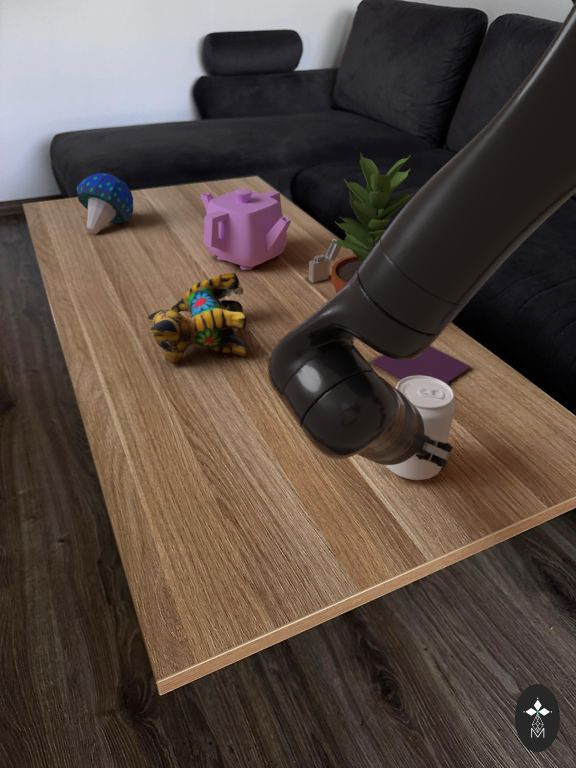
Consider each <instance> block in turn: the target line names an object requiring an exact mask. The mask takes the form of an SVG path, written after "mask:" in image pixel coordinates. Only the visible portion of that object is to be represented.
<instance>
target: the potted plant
mask: <svg viewBox="0 0 576 768" xmlns="http://www.w3.org/2000/svg"><path fill="white" fill-rule="evenodd" d="M359 154H360V159H359V164H360V167H361V170H362V173H363V175H364V178H365V181H366V187H365V188H364V187H363V186H362V185H360V184H359V183H357V182H353V181H351V182H350V181H347V180H346V179H343V181H344V182H345V184H346V186H347V187H348V189H349V190H348V192H349V204H350V207H351V209H352V210H353V212H354V214H355V216H356V217H357V219H358V221H359V222H360V223H359V222H358V221H356V220H354V219H353V218H350V217H344V218H343V217H341V216H339V218H340V219H341V220H343V221H344V222H342V223H339V222H336V221H335V220H334V222H335V224H336V225H337V226H338V227H339V228H341V229H342V230H344V232H345V235H346V236H345V237H344V239H343V240H342V239H337V240H338V241H336V242H333V243H335V244H337V245H339V246H341V248H345V249H349V250H351V251H352V253H353V254H354V255H349V256H347V257H343V258H341V259H339V260H337V261H336V262H334V264H333V265H332V267H331V277H330V279H331V281H330V282H331V285H332V286H333V288H334V291H335V294H336V293H338V292H339V291H340V290H341V289H342V288H343V287H344V286H345V285H346V284H347V283H348V282H349V281H350V280H351V279H352V277H353V276H354V275H355V273H356V272H357V270H358V269H359V268H360V266H361V264H362V263H363V262H364V260H365V259H366V257H367V256H368V254H369V253H370V252H371V250H372V249H373V247H374V246H375V244H376V243H377V242H378V240H379V239H380V237H381V236H382V235H383V233H384V232H385V230H386V228H387V227H388V226H389V224H390V223H391V221H392V219H391V218H390V217H391V216H392V215H394V214H395V213H396V212H397V211H398V210H399V209H401V208H403V207H404V206H405V205H406V204H407V202H408V201H409V200H410V199H411V198H412V197H413V196H414V195H415V194H416V192H415V191H414V192H412V193H410V194H409V193H402V194H400V195H398V196H396V197H395V198H393V199H392V200H390V198H391V194H392V193H393V192H394V191H395V190H396V189H397V188H398V187H399V186H400V185H401V184H402V183H403V182H404V180H406V179H407V178H408V176H409V173H410V171H411V168H409V169H408V170H406V171H399V170H400V169H401V168H402V167H403V166H404V165H405V163H406V162H407V161H408V159H410V157H411V155H409V156H408V157H407V158H401V159H399V160H398V161H396V162H395V163H394V164H393V166H391V167H390V169H389V170H388V172H387V173H386V174H385V175H384V174H380V171H379V169H378V167H377V165H376V164H375V162H374V161H373V160H372V159H369V158H367V157H364V156H363V154H362V153H361V152H359ZM389 218H390V219H389ZM329 242H330V243H332V240H329Z"/></svg>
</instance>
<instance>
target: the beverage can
mask: <svg viewBox="0 0 576 768" xmlns="http://www.w3.org/2000/svg"><path fill="white" fill-rule="evenodd" d="M394 388H396V389H398V390H399V391H400V392H401V393H403V394H404V396H405V397H406V398H407V399H408V400H409V401H410V402H411V403H412V404H413V405H414V406H415V407H416V408H417V409H418V411H419V412H420V414H421V417H422V419H423V423H424V431H425V435H426V436H428V437H430V438H431V439H432V440H437V441H439V442H443V443H449V442H448V441H449V437H450V434H451V430H452V425H453V420H454V416H455V411H456V405H457V403H456V399H455V393H454V390H453V388H452V387H450V385H449V384H446V383H444V382H443V381H441V380H439V379H436V378H433V377H429V376H420V375H417V376H409V377H406V378H403V379H402V380H401V379H399V381H398V382H397V384H396V386H395V387H394ZM385 467H386V468H387V469H388V470H389V471H390V472H391V473H393V474H395V475H397V476H399V477H401V478H403V479H407V480H413V481H422V480H429V479H431V478H433V477H435V476H436V475H438V474H439V473H440V471H442V468H443V466H441V467H440V466H437V464H434V463H432V462H429V461H426V460H423V459H422V460H420V459H418V457H416V454H415V455H413V456H412V457H411V458H410V459H408V460H406V461H404V462H402V463H400V464H396V465H385Z"/></svg>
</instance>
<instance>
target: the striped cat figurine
mask: <svg viewBox="0 0 576 768" xmlns="http://www.w3.org/2000/svg"><path fill="white" fill-rule="evenodd" d="M232 294H235V295H236V296H237V295H238V297H240V296H241V295H242V294H244V288H243V286H242V283H241V281H240V279H239V277H238V275H237V274H236V272H233V271H230V272H227V273H223V274H219V275H216V276H214V277H212V278H210V279H209V278H208V279H205V280H202V281H199V282H197V283H195V284H193V285H192V286H191V287H190V288H189V289H188V291H187V292H186V294H185V295H184V296H183V297H182V298H181V299H180V300H178V302H176V303H175V304H173V305H172V306H171V307H170V309H165V310H164V309H160V310H157V311H155V312H153V313H151V314H150V315H149V316H147V318H146V319H147V321H149V322H151V323H153V325H152V327H151V328H150V330H149V333H150V334H152V335H153V340H154V341H155V343H156V344H157V345H158V346H159V347H160V348H162V350H163V352H164V359H165V360H166V361H167V362H168V363H169V364H171V365H176V364H178V363H179V362H180V360H181V359H182V358H183V356H184V354H185V353H186V351H187V350H188V349H189V348H190V346H192V345H197V346H201V347H204V348H206V349H210V350H212V351H215V352H221V353H224V354H230V355H237V356H240V357H243V358H247V356H248V348H247V344H246V343H245V342H244V341H243V340H242V339H240V338H239V337H238V336H236V334H235V333H234V332H237V331H238V330H240V331H241V330H244V329H245V328H246V326H247V316H246V314H245V313H244V308H243V306H242V303H241V302H239V301H237V300H234V299H233V300H232V299H223V298H226V297H228V298H230V297H231V296H232ZM221 299H222V300H221ZM181 312H187V313H189V314H190V316H191V317H187V316H185V315H184V314H182V313H181Z"/></svg>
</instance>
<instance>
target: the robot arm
mask: <svg viewBox="0 0 576 768" xmlns="http://www.w3.org/2000/svg"><path fill="white" fill-rule="evenodd" d="M570 1H571V2H572V4H573V5H572V7H571V8H570V11H569V12H568V14H567V15H566V16H565V18H564V21H563V22H562V24H561V26H560V27H559V29H558V31H557V33H555V36H554V38H553V39H552V40H551V42H550V43H549V45H548V47H547V48H546V50H545V51H544V53H543V54H542V56H541V57H540V58H539V60H538V61H537V63H536V64H535V66H534V67H533V69H532V70H531V71H530V73H529V74H528V75H527V76H526V78H525V79H524V80H523V82H522V83H521V85H520V86H519V87H518V88H517V90H516V91H515V92H514V93H513V94H512V96H511V97H510V98H509V100H508V101H506V103H505V104H504V105H503V107H502V108H501V109H499V111H498V112H497V113H496V115H495V116H494V117H492V119H490V121H489V122H488V123H487V124H486V125H485V126H484V128H482V129H481V130H480V131H479V133H477V134H476V135H475V136H474V137H473V138H472V139H471V140H470V141H469V142H467V144H466V145H465V146H464V147H462V148H461V150H459V151H458V152H457V153H455V155H454V156H453V157H452V158H451V159H450V160H448V161H447V162H446V163H445V164H444V165H443V166H442V167H441V168H440V169H439V170H438V171H436V173H434V174H433V175H431V177H430V178H429V179H428V180H427V181H426V182H425V183H424V184H423V185H422V186H421V187H420V188H419V189H418V190H417V191H416V192H415V193H414V194H413V196H412V197H411V198H410V199H409V200H408V202H406V203H405V204H404V205H403V206H402V207H401V209H400V210H399V212H398V213H397V214H396V216H395V217H394V218H393V220H391V221H390V223H389V224H388V225H387V227H386V228H385V232H384V233H383V235H382V236H381V237H380V239H379V240H378V242H377V243H376V244H375V246H374V247H373V249H372V250H371V252H370V253H369V254H368V256H367V257H366V259H365V260H364V262H363V263H362V264H361V266H360V268H359V269H358V270H357V272H356V273H355V275H354V276H353V277H352V279H351V280H350V281H349V282H348V283H347V284H346V285H345V286H344V287H343V288H342V289H341V290H340V291H339V292H338V293H336V292H335V294H334V295H332V297H331V298H330V299H328V301H326V302H325V303H324V304H322V305H321V306H320V307H319V308H318V309H316V311H315V312H313V313H312V314H311V315H309V316H308V317H306V319H304V320H303V321H302V322H300V323H299V324H297V325H296V326H295V327H293V328H292V329H290V330H289V331H288V332H287V333H286V334H285V335H283V337H282V338H280V339H279V341H278V342H277V343H276V344H275V345H274V348H273V350H272V351H271V354H270V357H269V361H268V365H267V376H268V381H269V383H270V386H271V388H272V389H273V391H274V393H275V394H276V395H277V396H278V398H279V399H280V401H281V402H282V403H283V406H285V408H286V409H287V411H288V412H289V413H290V415H291V416H292V417H293V419H294V420H295V422H296V423H297V425H298V426H299V427H300V428H301V431H302V432H303V433H304V435H305V436H306V437H307V439H308V440H309V442H310V443H311V444H312V445H313V447H315V448H316V450H318V451H319V452H320V453H321V454H322V455H324V456H325V457H327V458H329V459H332V460H345V459H350V458H351V457H354V456H356V455H358V456H359V457H362V458H364V459H367V460H369V461H371V462H373V463H376V464H379V465H384V466H386V465H396V464H400V463H402V462H404V461H406V460H408V459H410V458H411V457H412V456H413V455H415V454H416V457H418V459H420V460H422V459H423V460H426V461H429V462H432V463H434V464H437V466H440V467H441V466H442V468H445V467H446V465H447V462H448V460H449V459H450V455H451V453H452V450H453V448H454V446H452V445H451V443H449V442H447V443H443V442H439V441H437V440H432V439H431V438H430V437H428V436H426V435H425V431H424V423H423V419H422V417H421V414H420V412H419V411H418V409H417V408H416V407H415V406H414V405H413V404H412V403H411V402H410V401H409V400H408V399H407V398H406V397H405V396H404V394H403V393H401V392H400V391H399V390H398V389H396V388H395V387H394V386H393V385H391V384H390V382H388V381H387V380H386V379H384V378H383V377H382V376H380V375H379V374H378V373H377V371H376V370H375V369H374V368H373V367H372V366H371V364H370V363H369V362H368V361H367V360H366V358H365V357H364V356H363V354H362V353H361V352H360V350H359V349H358V348H357V347H356V346H355V344H354V343H355V341H356V339H357V340H358V341H360V342H361V343H363V344H364V345H365V346H366V347H369V348H370V349H372V350H373V351H375V352H376V353H378V354H380V355H381V356H383V355H384V356H387V357H389V358H392V359H396V360H409V359H413V358H415V357H417V356H419V355H420V354H422V353H423V352H424V351H425V350H426V349H427V348H428V347H429V346H431V345H432V344H433V343H434V342H435V341H436V340H437V339H438V338H439V337H440V335H442V333H443V332H444V331H445V330H446V329H447V328H448V326H449V325H450V324H451V323H452V322H453V321H454V320H455V318H457V316H458V315H459V314H460V313H461V312H462V311H463V309H464V308H465V307H466V306H467V305H468V304H469V302H470V301H472V299H473V298H474V297H475V296H476V294H477V293H479V291H480V290H481V289H482V287H484V286H485V284H486V283H487V282H488V281H489V279H490V278H492V276H493V275H494V274H495V273H496V272H497V271H498V270H499V268H500V267H501V266H502V265H503V264H504V263H505V262H506V261H507V260H508V258H510V257H511V255H513V254H514V253H515V251H517V249H518V248H520V247H521V245H523V243H524V242H525V241H526V240H527V239H528V238H529V237H530V236H531V235H532V234H533V233H534V232H535V231H536V230H537V229H538V228H539V227H540V226H541V225H543V223H545V221H547V219H549V218H550V217H551V216H552V215H553V214H554V213H555V212H556V211H557V210H558V209H559V208H560V207H561V206H562V205H563V204H565V203H567V201H568V200H569V199H570V198H571V197H572V196H573V195H575V194H576V0H570Z"/></svg>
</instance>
